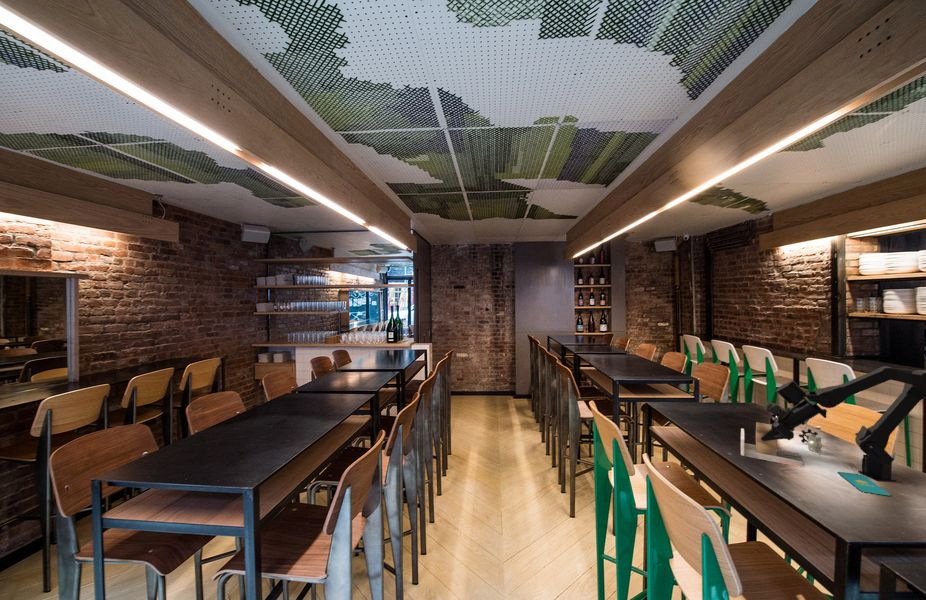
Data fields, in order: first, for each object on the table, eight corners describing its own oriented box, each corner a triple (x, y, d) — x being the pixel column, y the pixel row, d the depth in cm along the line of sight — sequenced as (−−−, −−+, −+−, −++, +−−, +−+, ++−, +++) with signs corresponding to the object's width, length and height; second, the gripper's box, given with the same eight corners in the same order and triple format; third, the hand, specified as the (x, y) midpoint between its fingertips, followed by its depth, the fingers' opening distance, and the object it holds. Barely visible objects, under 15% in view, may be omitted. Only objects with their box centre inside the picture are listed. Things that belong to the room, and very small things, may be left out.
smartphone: (861, 491, 122) (836, 470, 136) (861, 493, 122) (836, 473, 136) (892, 496, 119) (863, 474, 133) (892, 498, 119) (863, 477, 133)
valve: (827, 456, 149) (819, 446, 159) (827, 439, 149) (820, 430, 159) (804, 452, 152) (798, 443, 163) (804, 435, 152) (798, 427, 162)
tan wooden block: (775, 452, 150) (775, 425, 150) (776, 458, 145) (777, 430, 145) (755, 448, 154) (756, 422, 154) (756, 454, 149) (756, 426, 148)
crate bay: (799, 455, 149) (800, 438, 149) (805, 469, 137) (805, 450, 137) (740, 444, 160) (741, 428, 160) (740, 456, 148) (741, 439, 148)
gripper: (778, 390, 154) (743, 413, 161) (782, 401, 139) (743, 425, 146) (804, 414, 150) (767, 437, 157) (811, 427, 135) (769, 452, 141)
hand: (761, 437), depth 150 cm, fingers closed on tan wooden block, 6 cm apart
